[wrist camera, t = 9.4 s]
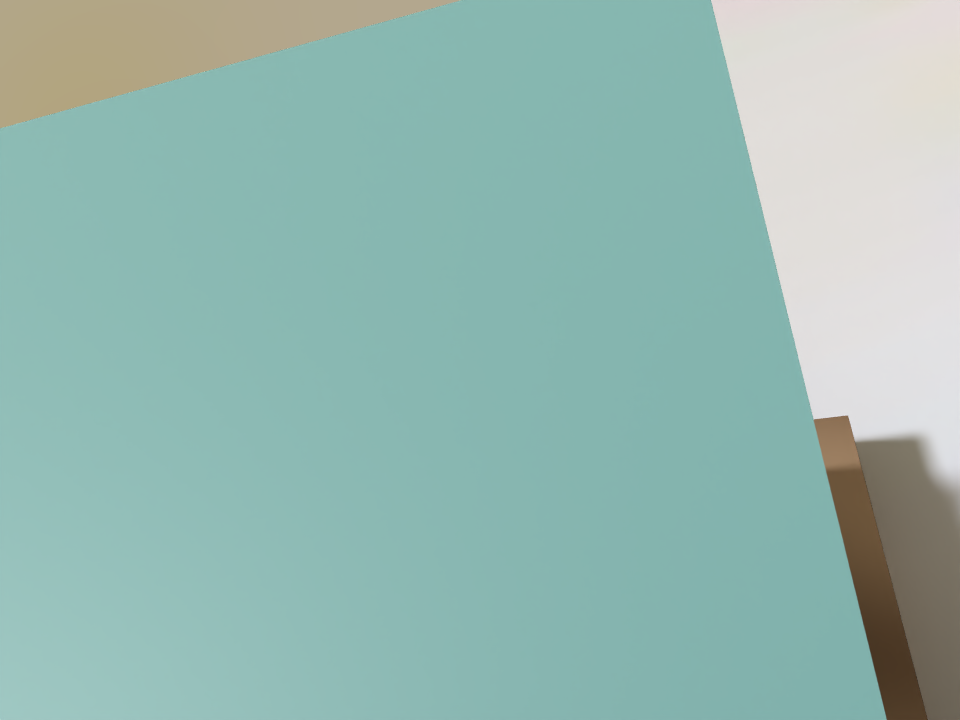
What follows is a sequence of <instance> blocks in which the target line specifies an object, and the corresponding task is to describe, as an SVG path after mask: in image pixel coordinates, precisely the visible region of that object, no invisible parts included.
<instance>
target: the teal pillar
mask: <svg viewBox="0 0 960 720" xmlns="http://www.w3.org/2000/svg"><path fill="white" fill-rule="evenodd" d="M0 720H887V719H886V715H885V711H884V706H883V702H882V698H881V694H880V690H879V686H878V682H877V678H876V674H875V670H874V666H873V662H872V657H871V653H870V649H869V645H868V641H867V637H866V633H865V629H864V625H863V621H862V616H861V612H860V608H859V604H858V600H857V596H856V592H855V588H854V584H853V580H852V576H851V571H850V567H849V563H848V559H847V555H846V551H845V547H844V543H843V539H842V535H841V531H840V527H839V522H838V518H837V514H836V510H835V506H834V502H833V498H832V494H831V490H830V486H829V482H828V477H827V473H826V469H825V465H824V461H823V457H822V453H821V449H820V445H819V441H818V437H817V432H816V428H815V424H814V420H813V416H812V412H811V408H810V404H809V400H808V396H807V392H806V387H805V383H804V379H803V375H802V371H801V367H800V363H799V359H798V355H797V351H796V347H795V342H794V338H793V334H792V330H791V326H790V322H789V318H788V314H787V310H786V306H785V302H784V297H783V293H782V289H781V285H780V281H779V277H778V273H777V269H776V265H775V261H774V257H773V252H772V248H771V244H770V240H769V236H768V232H767V228H766V224H765V220H764V216H763V212H762V207H761V203H760V199H759V195H758V191H757V187H756V183H755V179H754V175H753V171H752V167H751V162H750V158H749V154H748V150H747V146H746V142H745V138H744V134H743V130H742V126H741V122H740V117H739V113H738V109H737V105H736V101H735V97H734V93H733V89H732V85H731V81H730V77H729V72H728V68H727V64H726V60H725V56H724V52H723V48H722V44H721V40H720V36H719V32H718V27H717V23H716V19H715V15H714V11H713V7H712V3H711V0H461V1H458V2H454V3H450V4H447V5H443V6H439V7H436V8H432V9H429V10H425V11H421V12H418V13H415V14H411V15H407V16H403V17H400V18H396V19H393V20H389V21H386V22H382V23H378V24H375V25H371V26H367V27H364V28H360V29H357V30H353V31H350V32H346V33H342V34H339V35H335V36H332V37H328V38H324V39H321V40H317V41H314V42H310V43H306V44H303V45H299V46H296V47H292V48H288V49H285V50H281V51H277V52H274V53H270V54H267V55H263V56H259V57H256V58H253V59H249V60H245V61H242V62H238V63H235V64H231V65H227V66H223V67H220V68H216V69H213V70H209V71H205V72H202V73H198V74H195V75H191V76H187V77H184V78H180V79H177V80H173V81H170V82H166V83H162V84H159V85H155V86H151V87H148V88H145V89H141V90H138V91H133V92H130V93H127V94H123V95H119V96H115V97H112V98H108V99H105V100H101V101H98V102H94V103H90V104H87V105H83V106H80V107H76V108H72V109H69V110H65V111H62V112H58V113H54V114H51V115H47V116H44V117H40V118H36V119H33V120H29V121H26V122H22V123H18V124H15V125H12V126H8V127H4V128H0Z"/></svg>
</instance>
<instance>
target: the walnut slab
mask: <svg viewBox="0 0 960 720" xmlns="http://www.w3.org/2000/svg"><path fill="white" fill-rule="evenodd" d="M814 424H815V428H816V432H817V437H818V441H819V445H820V449H821V453H822V457H823V461H824V465H825V469H826V473H827V477H828V482H829V486H830V490H831V494H832V498H833V502H834V506H835V510H836V514H837V518H838V522H839V527H840V531H841V535H842V539H843V543H844V547H845V551H846V555H847V559H848V563H849V567H850V571H851V576H852V580H853V584H854V588H855V592H856V596H857V600H858V604H859V608H860V612H861V616H862V621H863V625H864V629H865V633H866V637H867V641H868V645H869V649H870V653H871V657H872V662H873V666H874V670H875V674H876V678H877V682H878V686H879V690H880V694H881V698H882V702H883V706H884V711H885V715H886V719H887V720H928V719H927V715H926V711H925V708H924V704H923V700H922V696H921V692H920V689H919V685H918V681H917V677H916V673H915V670H914V666H913V662H912V658H911V654H910V650H909V647H908V643H907V639H906V635H905V631H904V628H903V624H902V620H901V616H900V612H899V608H898V605H897V601H896V597H895V593H894V589H893V586H892V582H891V578H890V574H889V570H888V566H887V563H886V559H885V555H884V551H883V547H882V544H881V540H880V536H879V532H878V528H877V525H876V521H875V517H874V513H873V509H872V505H871V502H870V498H869V494H868V490H867V486H866V483H865V479H864V475H863V471H862V467H861V463H860V460H859V456H858V452H857V448H856V444H855V441H854V437H853V433H852V429H851V425H850V422H849V418H848V416H840V417H831V418H823V419H814Z"/></svg>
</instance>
